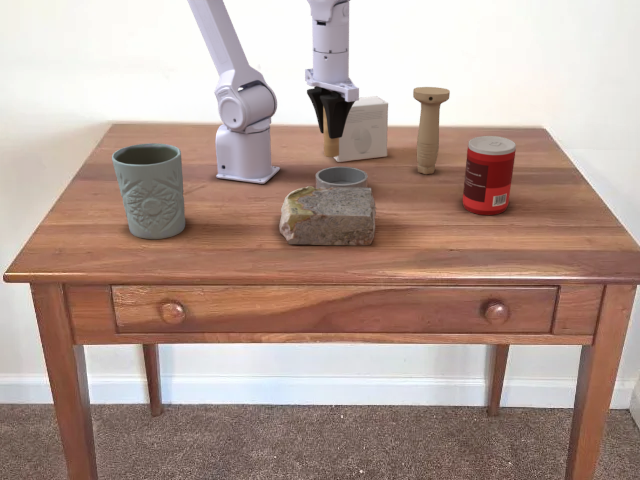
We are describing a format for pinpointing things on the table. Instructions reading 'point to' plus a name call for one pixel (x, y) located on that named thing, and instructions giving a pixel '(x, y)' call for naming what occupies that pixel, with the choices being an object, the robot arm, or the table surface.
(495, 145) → the canned food
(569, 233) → the table surface
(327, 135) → the stick
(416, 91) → the handle
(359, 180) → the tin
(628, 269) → the table surface
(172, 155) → the drinking glass
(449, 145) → the table surface
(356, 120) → the cosmetics box
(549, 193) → the table surface
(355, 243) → the geological specimen
